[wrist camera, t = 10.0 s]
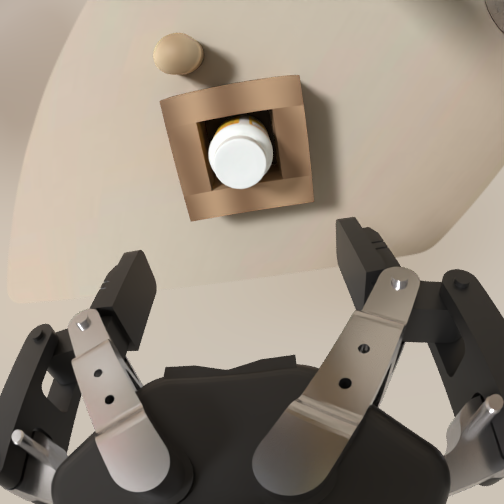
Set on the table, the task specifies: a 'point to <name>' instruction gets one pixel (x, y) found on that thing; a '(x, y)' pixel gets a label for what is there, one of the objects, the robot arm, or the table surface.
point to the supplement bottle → (240, 151)
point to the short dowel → (178, 54)
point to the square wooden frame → (197, 146)
